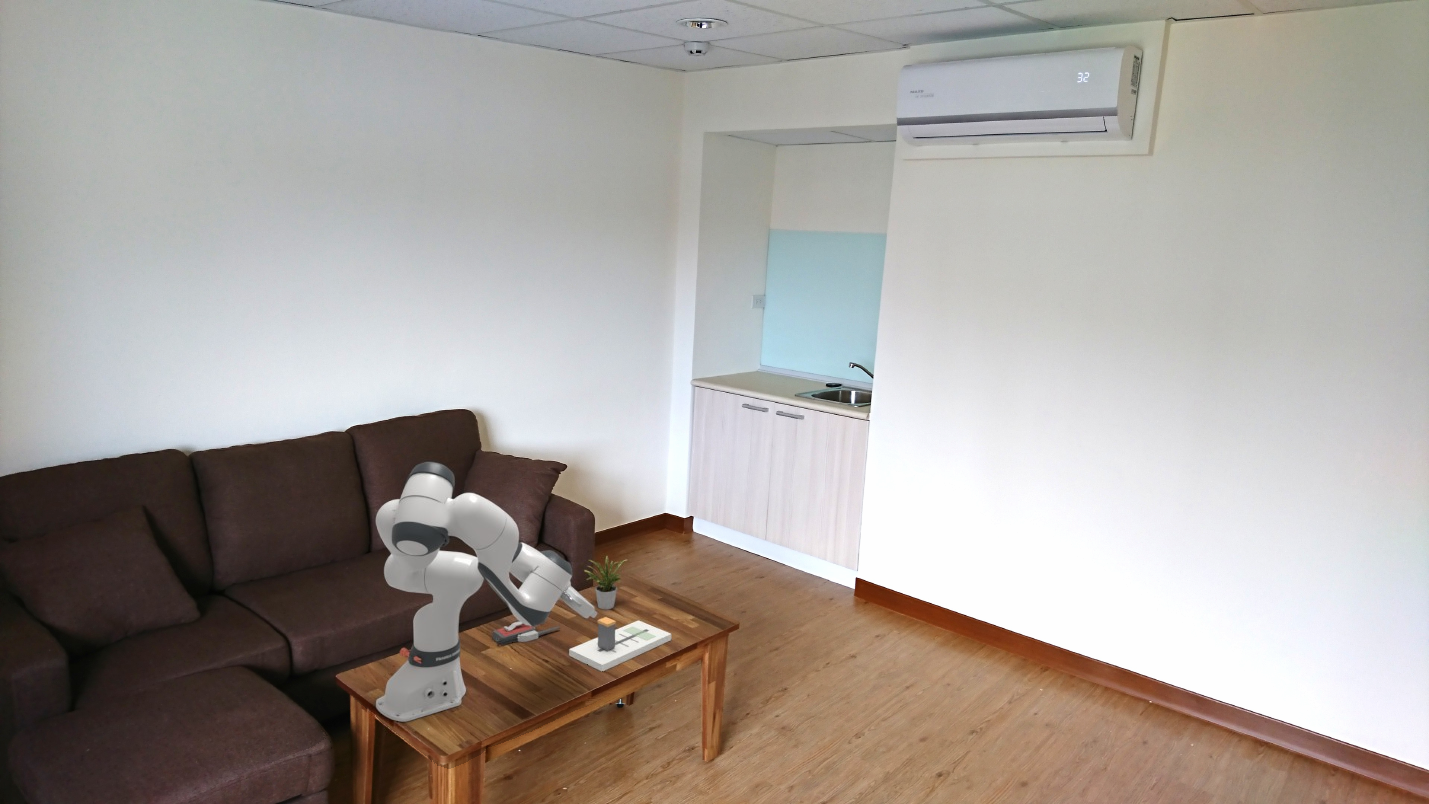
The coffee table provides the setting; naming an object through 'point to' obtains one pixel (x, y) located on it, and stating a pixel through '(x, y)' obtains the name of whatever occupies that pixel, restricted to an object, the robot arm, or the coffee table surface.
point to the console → (621, 646)
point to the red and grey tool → (517, 633)
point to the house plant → (605, 584)
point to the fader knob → (606, 633)
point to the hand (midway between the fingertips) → (587, 607)
